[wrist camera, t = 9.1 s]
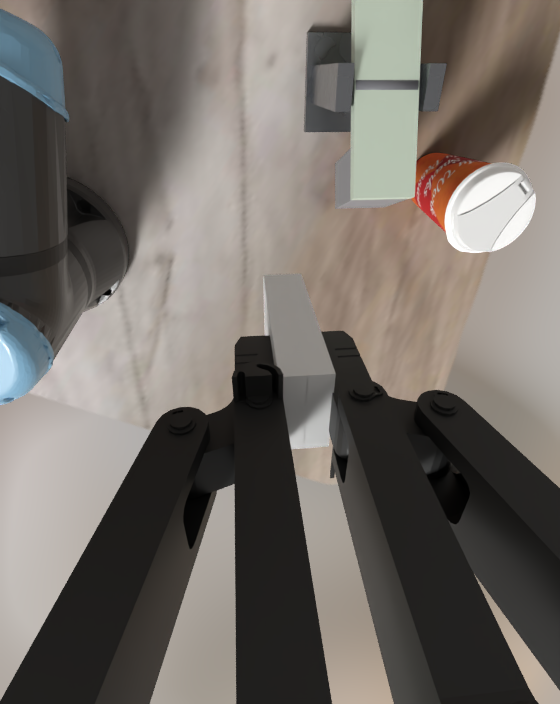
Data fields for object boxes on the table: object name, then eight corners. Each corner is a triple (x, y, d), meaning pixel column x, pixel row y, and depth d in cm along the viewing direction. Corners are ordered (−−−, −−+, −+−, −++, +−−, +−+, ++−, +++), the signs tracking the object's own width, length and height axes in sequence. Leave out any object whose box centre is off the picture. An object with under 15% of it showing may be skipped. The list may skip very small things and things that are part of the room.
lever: (334, 208, 39) (356, 197, 32) (333, -56, 34) (359, -144, 27) (385, 207, 39) (418, 195, 32) (391, -54, 35) (433, -141, 27)
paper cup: (437, 124, 43) (512, 143, 31) (477, 174, 46) (558, 207, 35) (381, 185, 46) (432, 222, 34) (423, 228, 49) (481, 275, 38)
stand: (303, 131, 42) (326, 148, 32) (307, 32, 38) (334, 17, 28) (388, 130, 43) (436, 147, 33) (401, 33, 38) (462, 19, 28)
